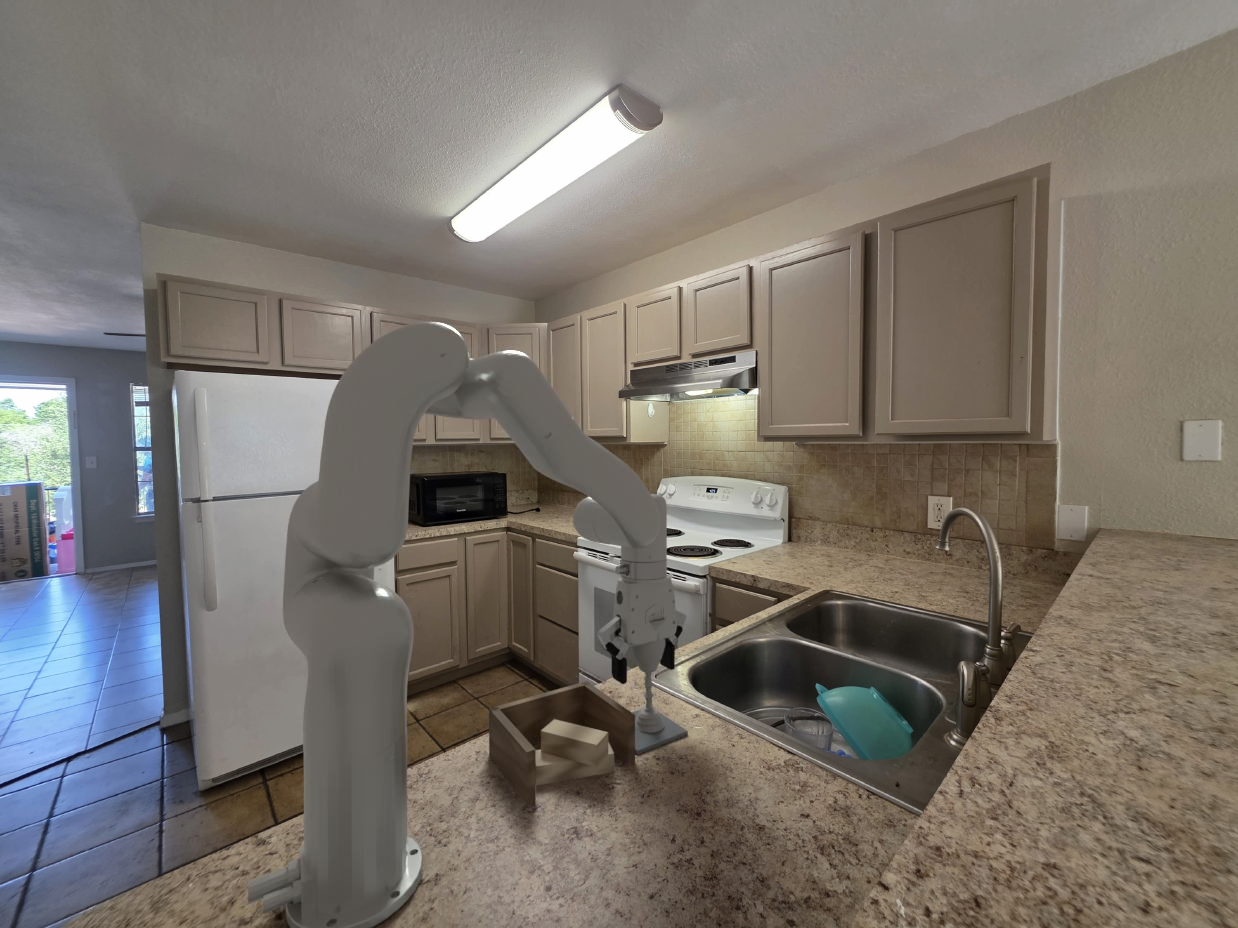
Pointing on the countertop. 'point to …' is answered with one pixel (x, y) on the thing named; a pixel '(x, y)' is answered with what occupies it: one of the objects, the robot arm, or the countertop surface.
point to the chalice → (649, 682)
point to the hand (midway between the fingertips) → (644, 673)
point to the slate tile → (657, 735)
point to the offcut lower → (568, 767)
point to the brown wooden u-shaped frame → (527, 717)
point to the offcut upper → (574, 742)
